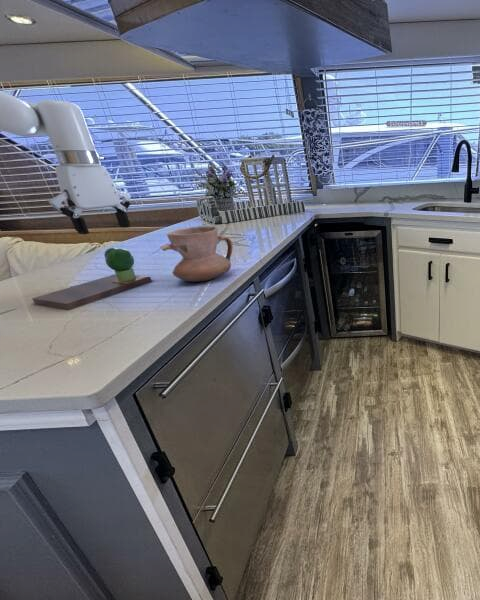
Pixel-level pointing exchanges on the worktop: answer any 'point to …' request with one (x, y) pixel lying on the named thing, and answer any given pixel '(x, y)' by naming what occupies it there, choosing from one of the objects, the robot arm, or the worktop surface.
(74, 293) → the cutting board
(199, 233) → the ceramic jug
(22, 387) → the worktop surface
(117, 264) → the broccoli
